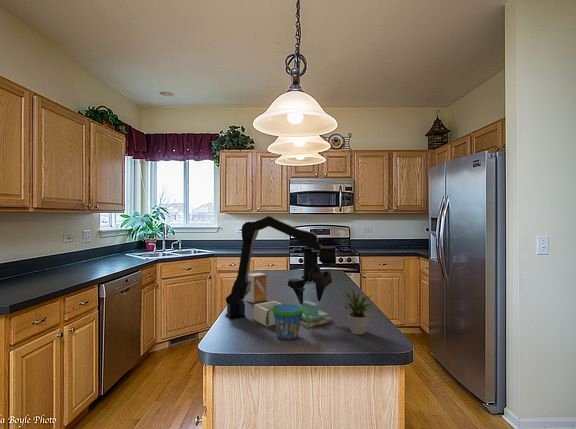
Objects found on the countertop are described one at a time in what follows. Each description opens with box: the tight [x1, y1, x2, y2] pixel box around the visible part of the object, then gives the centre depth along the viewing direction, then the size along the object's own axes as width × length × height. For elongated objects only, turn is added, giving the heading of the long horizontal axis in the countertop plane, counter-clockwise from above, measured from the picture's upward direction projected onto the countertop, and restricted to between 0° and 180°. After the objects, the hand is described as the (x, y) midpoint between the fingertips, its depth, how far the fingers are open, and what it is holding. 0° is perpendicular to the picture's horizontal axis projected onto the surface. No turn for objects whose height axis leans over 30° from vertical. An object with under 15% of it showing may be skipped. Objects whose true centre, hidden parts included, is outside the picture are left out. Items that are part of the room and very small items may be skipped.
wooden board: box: [300, 316, 333, 328], centre depth 133 cm, size 13×12×1 cm
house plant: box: [340, 287, 376, 335], centre depth 120 cm, size 14×14×16 cm
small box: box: [245, 272, 267, 304], centre depth 163 cm, size 8×6×13 cm
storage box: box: [253, 300, 282, 327], centre depth 132 cm, size 10×10×6 cm
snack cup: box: [266, 303, 310, 341], centre depth 115 cm, size 16×11×10 cm
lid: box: [301, 300, 329, 322], centre depth 133 cm, size 10×10×6 cm
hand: (310, 302), depth 133 cm, fingers open, 9 cm apart
